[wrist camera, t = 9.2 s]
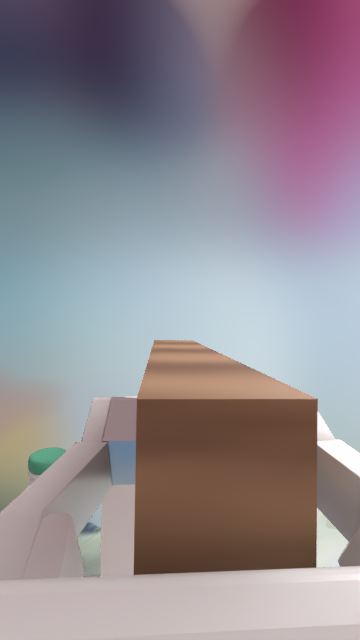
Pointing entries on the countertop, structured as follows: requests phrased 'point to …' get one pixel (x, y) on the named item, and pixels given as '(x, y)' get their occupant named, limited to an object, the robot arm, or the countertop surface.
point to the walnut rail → (222, 466)
